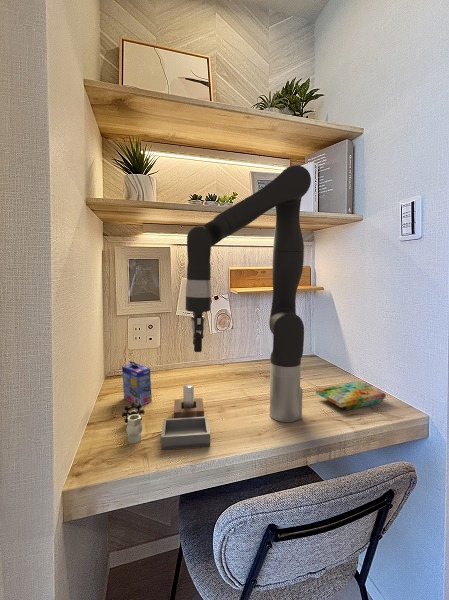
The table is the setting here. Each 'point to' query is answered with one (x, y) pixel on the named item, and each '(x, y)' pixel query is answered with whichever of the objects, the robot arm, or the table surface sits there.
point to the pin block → (188, 409)
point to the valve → (133, 423)
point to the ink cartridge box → (137, 383)
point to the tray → (185, 433)
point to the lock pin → (188, 396)
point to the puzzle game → (352, 395)
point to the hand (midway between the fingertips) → (197, 348)
